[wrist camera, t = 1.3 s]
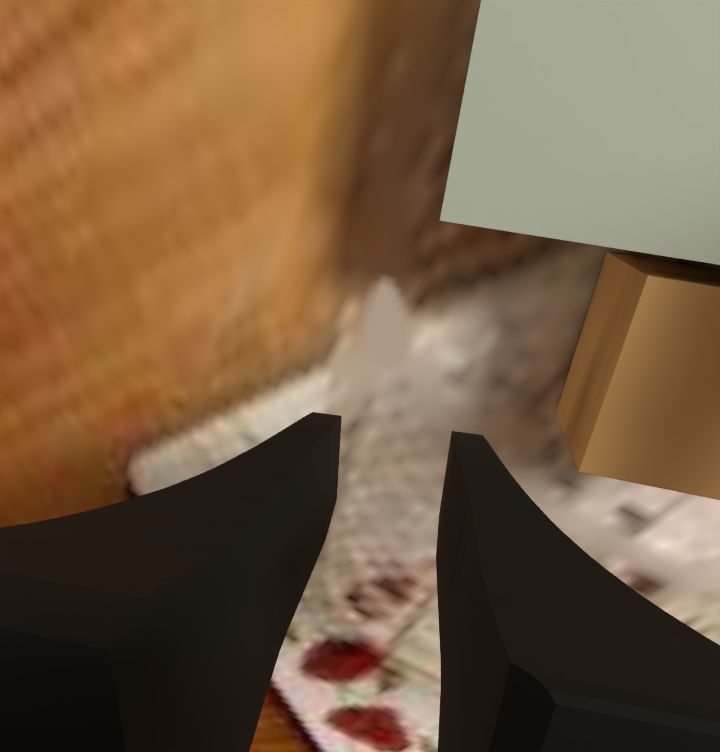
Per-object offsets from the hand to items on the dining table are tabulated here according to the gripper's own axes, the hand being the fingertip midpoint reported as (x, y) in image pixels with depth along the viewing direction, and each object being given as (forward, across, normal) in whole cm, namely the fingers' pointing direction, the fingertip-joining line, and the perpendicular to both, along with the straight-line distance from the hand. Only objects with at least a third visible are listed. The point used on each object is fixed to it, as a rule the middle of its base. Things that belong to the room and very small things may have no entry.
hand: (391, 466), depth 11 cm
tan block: (+9, -8, 0) cm, 12 cm away
